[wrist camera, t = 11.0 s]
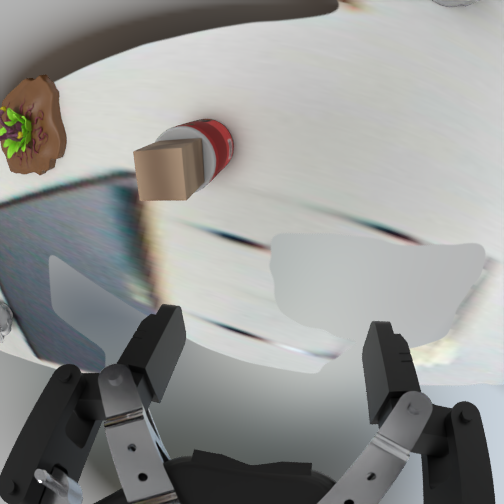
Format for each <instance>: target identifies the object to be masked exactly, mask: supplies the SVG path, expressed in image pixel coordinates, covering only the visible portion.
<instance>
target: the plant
mask: <svg viewBox="0 0 504 504" xmlns="http://www.w3.org/2000/svg"><path fill="white" fill-rule="evenodd" d="M0 141H1V147H2V151H3V152H4V154H5V156H6V159H7V162H8V165H9V168H10V171H11V172H14V173H21V174H28V173H31V172H35V173H37V174H39V175H42V174H44V173H46V171H48V170H50V169H52V168H54V167H55V163H56V159H58V158H60V157H62V156H63V155H64V152H65V149H66V132H65V129H64V125H63V123H62V119H61V114H60V107H59V91H58V90H57V89H56V86H55V84H54V82H53V81H52V80H50V78H49V77H48V75H40V76H38V77H37V78H36V79H34V78H26V79H24V80H23V81H22V82H21V83H20V84H19V85H18V86H17V87H16V88H15V89H13V90H12V91H11V92H10V93H9V94H8V95H7V96H6V98H5V99H4V100H3V102H2V107H1V109H0Z"/></svg>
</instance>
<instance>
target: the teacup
mask: <svg viewBox="0 0 504 504" xmlns="http://www.w3.org/2000/svg"><path fill="white" fill-rule="evenodd" d="M12 317H13V313H12V311H11V309H10V308H9V307H8V306H7V305H6V304H5V303H3V304H2V305H0V343H2V342H3V339H4V336H5V335H8V334H9V333H10V331H11V325H12Z"/></svg>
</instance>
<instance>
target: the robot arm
mask: <svg viewBox="0 0 504 504" xmlns="http://www.w3.org/2000/svg"><path fill="white" fill-rule="evenodd" d="M433 1H434V2H436V3H438V4H441V5H444V6H449V7H453V6H457V5H460V4H461V5H464V6H467V5H470V4H472V3H475V2H477V1H480V0H433ZM185 340H186V330H185V325H184V320H183V315H182V310H181V307H180V306H175V305H167V304H162V305H161V307H160V308H159V310H158V312H157V314H156V315H154V314H150V315H149V316H148V317H146V318H145V319H144V320H143V321H142V322H141V323H140V325H139V327H138V328H137V331H136V332H135V333H134V335H133V338H132V339H131V340H130V342H129V343H128V345H127V347H126V348H125V350H124V352H123V354H122V355H121V357H120V359H119V360H118V362H117V364H112V365H109V366H107V367H105V368H104V369H103V370H102V371H101V372H100V373H81V371H80V369H79V368H78V367H77V366H75V365H73V364H66V365H63V366H61V367H59V368H58V369H57V370H56V371H55V372H54V374H53V375H52V377H51V378H50V380H49V382H48V384H47V385H46V387H45V389H44V390H43V392H42V394H41V395H40V397H39V399H38V401H37V402H36V404H35V406H34V408H33V410H32V412H31V413H30V415H29V417H28V419H27V421H26V423H25V425H24V427H23V428H22V431H21V432H20V434H19V436H18V438H17V440H16V442H15V445H14V446H13V448H12V451H11V453H10V455H9V457H8V459H7V461H6V463H5V466H4V468H3V470H2V472H1V475H0V496H1V498H2V499H3V500H4V501H5V502H7V503H8V504H81V503H82V501H83V497H82V489H81V487H80V485H79V484H78V481H79V478H80V476H81V473H82V470H83V468H84V465H85V462H86V460H87V457H88V455H89V452H90V450H91V447H92V445H93V442H94V440H95V437H96V435H97V433H98V430H99V428H100V425H101V423H102V421H103V420H107V421H106V422H104V427H105V432H106V436H107V440H108V443H109V447H110V450H111V454H112V457H113V460H114V464H115V467H116V470H117V473H118V476H119V479H120V482H121V485H122V489H120V490H118V491H116V492H115V493H113V494H111V495H109V496H107V497H105V498H103V499H102V500H100V501H98V502H96V503H94V504H378V503H379V502H380V501H381V499H382V498H383V497H384V495H385V494H386V493H387V491H388V490H389V488H390V487H391V485H392V484H393V482H394V481H395V480H396V478H397V477H398V475H399V474H400V472H401V471H402V469H403V468H404V466H405V464H406V463H407V461H408V459H409V453H410V452H413V453H419V454H421V458H422V471H423V496H424V504H495V494H494V485H493V478H492V471H491V464H490V458H489V453H488V448H487V442H486V437H485V433H484V428H483V425H482V420H481V416H480V412H479V410H478V409H477V407H476V406H475V405H473V404H472V403H470V402H466V401H463V402H459V403H457V404H456V405H455V406H454V407H453V408H447V407H442V406H437V405H434V404H432V402H431V400H430V399H429V398H428V397H427V396H426V395H425V394H424V393H421V390H420V386H419V382H418V378H417V374H416V371H415V367H414V364H413V362H412V361H413V360H412V357H411V354H410V350H409V346H408V343H407V342H406V340H405V339H404V338H403V337H402V336H401V334H394V333H393V330H392V326H391V323H390V322H383V321H381V322H380V321H373V322H372V323H371V325H370V329H369V331H368V334H367V338H366V341H365V344H364V347H363V353H362V361H363V368H364V376H365V383H366V392H367V400H368V409H369V418H370V424H378V425H379V431H378V432H377V434H376V435H375V436H374V437H373V439H372V440H371V441H370V443H369V444H368V445H367V447H366V448H365V449H364V451H363V452H362V453H361V454H360V456H359V457H358V458H357V459H356V461H355V462H354V463H353V464H352V466H351V467H350V468H349V469H348V470H347V471H346V473H345V474H344V475H343V476H342V477H341V478H340V480H339V481H338V482H336V481H335V480H333V479H332V478H330V477H329V476H327V475H325V474H323V473H321V472H318V471H315V470H312V469H311V468H312V463H298V462H277V463H269V464H261V465H248V464H245V463H243V462H240V461H237V460H235V459H232V458H230V457H227V456H224V455H222V454H216V453H210V452H205V451H200V450H194V453H193V455H192V456H184V457H178V458H174V459H172V460H171V459H170V457H169V455H168V453H167V451H166V449H165V447H164V445H163V443H162V441H161V438H160V436H159V434H158V431H157V429H156V426H155V423H154V421H153V419H152V416H151V413H150V410H149V405H150V403H151V401H153V402H157V403H160V402H161V400H162V397H163V395H164V392H165V390H166V388H167V385H168V383H169V380H170V378H171V376H172V373H173V371H174V368H175V366H176V364H177V361H178V359H179V357H180V354H181V352H182V350H183V347H184V345H185Z"/></svg>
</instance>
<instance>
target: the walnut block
mask: <svg viewBox="0 0 504 504" xmlns="http://www.w3.org/2000/svg"><path fill="white" fill-rule="evenodd" d="M133 153H134V161H135V169H136V177H137V184H138V191H139V197H140V201H155V200H187V199H188V198H189V197H190V196H191V195H192V194H193V193H194V192H195V191H196V190H197V189H198V188H199V187H200V186H201V185H202V184H203V183H204V182H205V181H204V167H203V151H202V138H194V139H177V140H164V141H158V142H155V143H153V144H150V145H148V146H146V147H143V148H141V149H138V150H136V151H134V152H133Z"/></svg>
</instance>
